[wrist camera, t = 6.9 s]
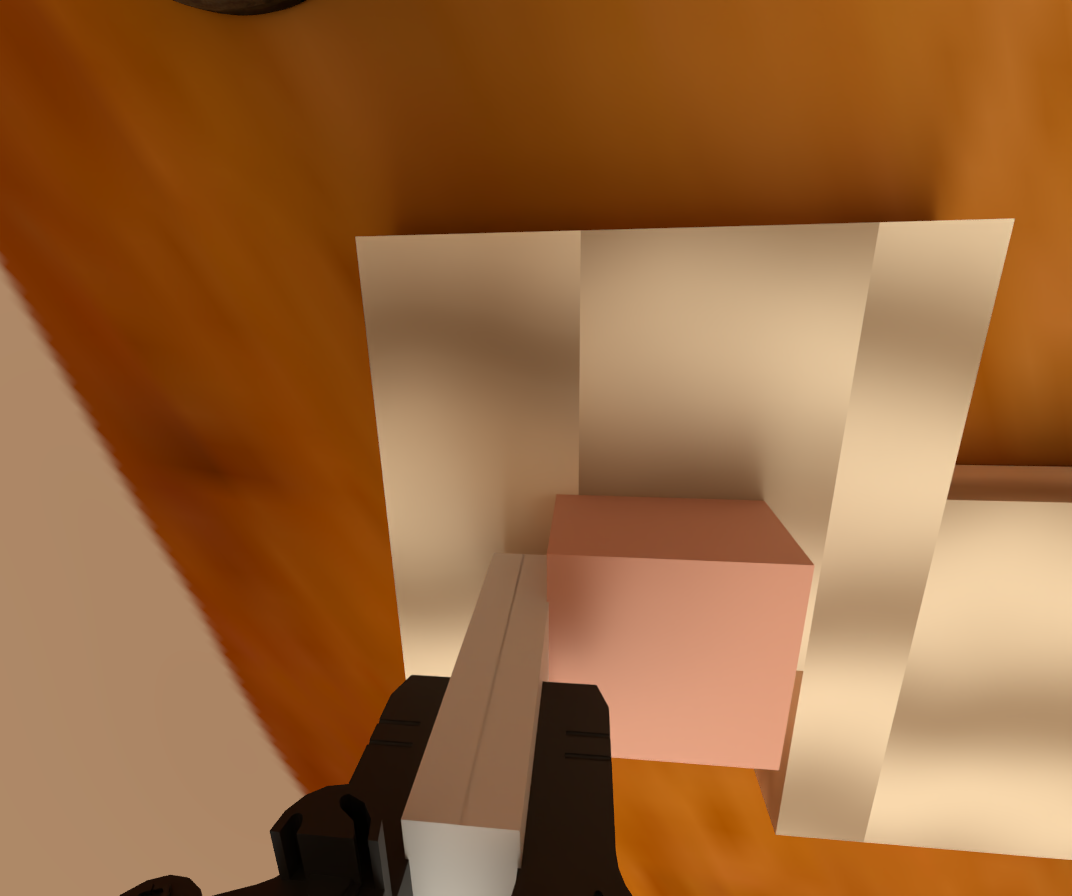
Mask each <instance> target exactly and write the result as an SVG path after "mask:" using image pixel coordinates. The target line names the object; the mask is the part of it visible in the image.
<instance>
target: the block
mask: <svg viewBox="0 0 1072 896" xmlns="http://www.w3.org/2000/svg"><path fill="white" fill-rule="evenodd" d="M814 567H815V565H814V564H813V563H812V561H811V560H810V559H809V557H808V556H807V555H806V554H805V552H804V551H803V550H802V548H801V547H800V546H799V545H798V543H797V542H796V541H795V539H794V538H793V537H792V536H791V534H790V533H789V532H788V530H787V529H786V528H785V527H784V525H783V524H782V523H781V521H780V520H779V519H778V518H777V516H776V515H775V514H774V512H773V511H772V510H771V509H770V507H769V506H768V505H767V503H766V502H765V501H760V500H727V499H695V498H662V497H629V496H596V495H563V494H556V500H555V506H554V512H553V518H552V525H551V531H550V537H549V543H548V549H547V602H549V682H560V683H575V684H591V685H597V686H598V688H599V690H600V692H601V694H602V696H603V697H604V699H605V701H606V703H607V705H608V707H609V717H610V739H611V757H616V758H628V759H641V760H654V761H666V762H679V763H692V764H704V765H717V766H730V767H742V768H755V769H768V770H779V767H780V761H781V756H782V750H783V744H784V739H785V733H786V727H787V721H788V716H789V710H790V704H791V698H792V693H793V687H794V681H795V676H796V670H797V664H798V658H799V653H800V647H801V641H802V635H803V630H804V624H805V618H806V613H807V607H808V601H809V595H810V590H811V584H812V578H813V572H814Z"/></svg>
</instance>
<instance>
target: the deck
mask: <svg viewBox="0 0 1072 896" xmlns="http://www.w3.org/2000/svg"><path fill="white" fill-rule="evenodd" d="M1014 220H1015V219H981V220H945V221H908V222H872V223H835V224H798V225H762V226H725V227H688V228H652V229H615V230H579V231H542V232H505V233H469V234H432V235H396V236H359V237H355V239H356V247H357V256H358V265H359V274H360V282H361V291H362V300H363V309H364V317H365V326H366V335H367V343H368V352H369V361H370V370H371V378H372V387H373V396H374V405H375V413H376V422H377V431H378V440H379V448H380V457H381V466H382V474H383V483H384V492H385V501H386V509H387V518H388V527H389V536H390V544H391V553H392V562H393V571H394V579H395V588H396V597H397V605H398V614H399V623H400V632H401V640H402V649H403V658H404V667H405V675H406V680H407V679H408V678H409V677H410V676H411V675H424V676H440V677H451V675H452V672H453V669H454V666H455V663H456V660H457V657H458V654H459V652H460V649H461V646H462V643H463V640H464V637H465V634H466V632H467V629H468V626H469V623H470V620H471V617H472V614H473V612H474V609H475V606H476V603H477V600H478V597H479V594H480V591H481V589H482V586H483V583H484V580H485V577H486V574H487V571H488V569H489V566H490V563H491V560H492V557H493V554H494V553H511V554H534V555H547V549H548V543H549V537H550V531H551V525H552V518H553V512H554V506H555V500H556V494H563V495H596V496H629V497H662V498H695V499H727V500H760V501H765V502H766V503H767V505H768V506H769V507H770V509H771V510H772V511H773V512H774V514H775V515H776V516H777V518H778V519H779V520H780V521H781V523H782V524H783V525H784V527H785V528H786V529H787V530H788V532H789V533H790V534H791V536H792V537H793V538H794V539H795V541H796V542H797V543H798V545H799V546H800V547H801V548H802V550H803V551H804V552H805V554H806V555H807V556H808V557H809V559H810V560H811V561H812V563H813V564H814V565H815V567H814V572H813V578H812V584H811V590H810V595H809V601H808V607H807V613H806V618H805V624H804V630H803V635H802V641H801V647H800V653H799V658H798V664H797V670H796V676H795V681H794V687H793V693H792V698H791V704H790V710H789V716H788V721H787V727H786V733H785V739H784V744H783V750H782V756H781V761H780V767H779V770H768V769H755V768H754V770H755V773H756V777H757V780H758V783H759V786H760V789H761V792H762V795H763V798H764V801H765V804H766V807H767V810H768V813H769V816H770V819H771V822H772V825H773V828H774V831H775V834H776V835H787V836H799V837H810V838H822V839H834V840H845V841H857V842H869V843H880V844H892V845H904V846H915V847H927V848H939V849H951V850H962V851H974V852H986V853H997V854H1009V855H1021V856H1032V857H1044V858H1056V859H1067V860H1072V467H1059V466H999V465H955V463H956V459H957V455H958V451H959V447H960V442H961V438H962V434H963V430H964V426H965V422H966V418H967V414H968V409H969V405H970V401H971V397H972V393H973V389H974V385H975V381H976V376H977V372H978V368H979V364H980V360H981V356H982V352H983V348H984V343H985V339H986V335H987V331H988V327H989V323H990V319H991V315H992V310H993V306H994V302H995V298H996V294H997V290H998V286H999V282H1000V277H1001V273H1002V269H1003V265H1004V261H1005V257H1006V253H1007V249H1008V244H1009V240H1010V236H1011V232H1012V228H1013V224H1014Z"/></svg>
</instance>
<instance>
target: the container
mask: <svg viewBox="0 0 1072 896" xmlns="http://www.w3.org/2000/svg"><path fill="white" fill-rule="evenodd" d="M174 1H176V2H179V3H182V4H185V5H188V6H191V7H195V8H199V9H203V10H207V11H212V12H217V13H222V14H231V15H257V14H265V13H270V12H275V11H279V10H283V9H287V8H290V7H293V6H295V5H298V4H300V3H302V2H304V1H306V0H174Z"/></svg>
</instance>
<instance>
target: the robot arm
mask: <svg viewBox="0 0 1072 896" xmlns="http://www.w3.org/2000/svg"><path fill="white" fill-rule="evenodd" d="M270 834H271V839H272V843H273V848H274V852H275V856H276V861H277V865H278V870H279V874H280V875H279V876H277V877H275V878H273V879H270V880H267V881H265V882H262V883H259V884H257V885H253V886H249V887H245V888H241V889H237V890H233V891H230V892H225V893H221V894H217V895H214V896H632V894H631V893H630V891H629V890H628V888H627V887H626V885H625V883H624V881H623V878H622V876H621V873H620V871H619V868H618V863H617V856H616V848H615V826H614V804H613V783H612V762H611V739H610V717H609V707H608V705H607V703H606V701H605V699H604V697H603V696H602V694H601V692H600V690H599V688H598V686H597V685H591V684H575V683H560V682H549V602H547V555H534V554H511V553H494V554H493V557H492V560H491V563H490V566H489V569H488V571H487V574H486V577H485V580H484V583H483V586H482V589H481V591H480V594H479V597H478V600H477V603H476V606H475V609H474V612H473V614H472V617H471V620H470V623H469V626H468V629H467V632H466V634H465V637H464V640H463V643H462V646H461V649H460V652H459V654H458V657H457V660H456V663H455V666H454V669H453V672H452V675H451V677H440V676H424V675H411V676H410V677H409V678H408V679H407V680H406V681H405V682H404V683H403V684H402V685H401V686H399V687H398V688H397V689H396V690H395V691H394V692H393V693H392V694H391V696H390V698H389V700H388V702H387V704H386V707H385V709H384V711H383V713H382V715H381V717H380V721H379V724H377V725H376V727H375V730H374V732H373V734H372V736H371V738H370V743H369V745H367V746H366V748H365V751H364V753H363V755H362V757H361V759H360V761H359V763H358V765H357V767H356V769H355V771H354V774H353V776H352V778H351V780H350V782H349V784H345V785H334V786H326V787H324V788H322V789H319V790H317V791H315V792H312V793H310V794H307V795H305V796H304V797H303V798H301V799H300V800H299V801H298V802H296V803H295V804H294V805H292V806H291V807H290V808H288V809H287V810H286V811H285V812H284V813H283V814H282V816H281V817H280V818H279V820H278V821H277V822H276V823H275V825H274V826H273V827H272V829H271V830H270ZM120 896H202V893H201V889H200V888H199V887H198V886H196V884H195V883H194V882H193V881H192V880H191V879H190V878H187V877H181V876H174V875H168V876H163V877H160V878H155V879H151V880H147V881H145V882H143V883H141V884H140V885H138V886H136V887H135V888H132V889H130V890H128V891H127V892H125V893H123V894H121V895H120Z"/></svg>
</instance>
